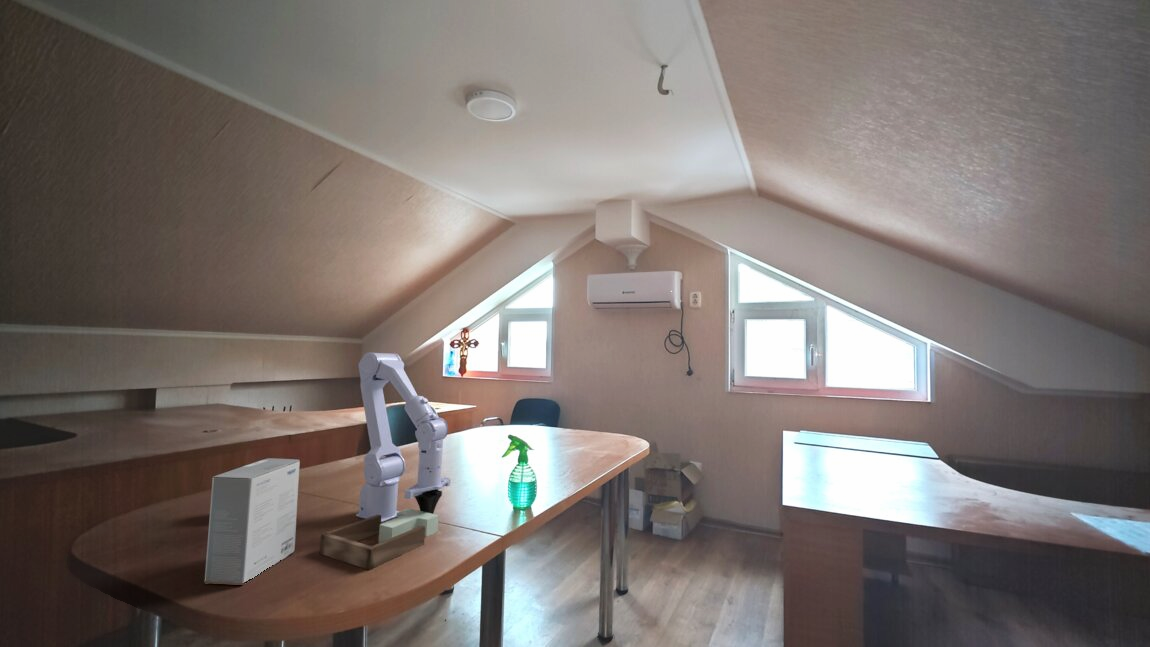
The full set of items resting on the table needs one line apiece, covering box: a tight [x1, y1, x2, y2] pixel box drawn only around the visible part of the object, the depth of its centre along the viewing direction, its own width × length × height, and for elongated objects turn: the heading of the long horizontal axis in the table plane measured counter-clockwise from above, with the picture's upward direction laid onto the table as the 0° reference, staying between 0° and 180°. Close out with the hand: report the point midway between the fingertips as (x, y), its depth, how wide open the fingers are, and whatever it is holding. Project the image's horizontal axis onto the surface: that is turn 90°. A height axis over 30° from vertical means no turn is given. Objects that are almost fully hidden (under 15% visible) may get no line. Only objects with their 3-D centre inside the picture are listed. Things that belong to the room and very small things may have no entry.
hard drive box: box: [204, 457, 301, 583], centre depth 93 cm, size 16×8×20 cm, turn 178°
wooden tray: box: [319, 515, 426, 571], centre depth 104 cm, size 15×15×4 cm
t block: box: [378, 508, 440, 544], centre depth 112 cm, size 10×12×4 cm
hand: (426, 520), depth 118 cm, fingers closed
